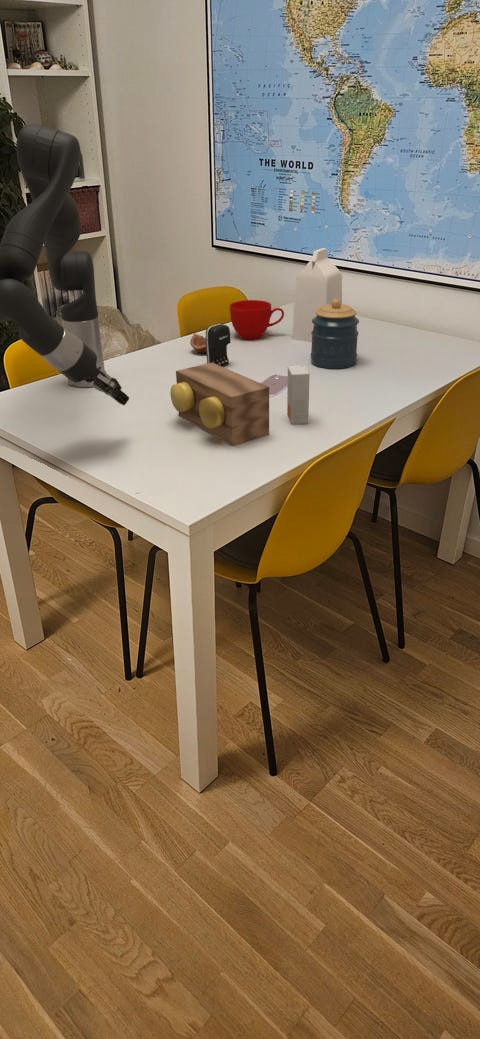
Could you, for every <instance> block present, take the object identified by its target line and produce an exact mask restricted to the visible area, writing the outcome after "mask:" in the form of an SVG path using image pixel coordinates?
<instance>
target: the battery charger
mask: <svg viewBox="0 0 480 1039" xmlns="http://www.w3.org/2000/svg"><path fill="white" fill-rule="evenodd" d="M205 338H206V352H207V353H206V364H207V363H215V364H217V365H219V366H222V367H226V366H228V365H229V363H230V361H229V357H228V345H229V344H231V330H230V327H229V326H228V325H226V324H223V323H216V324H213V325H211V326H208V327H207V328H206V330H205Z"/></svg>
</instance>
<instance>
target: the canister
mask: <svg viewBox="0 0 480 1039" xmlns="http://www.w3.org/2000/svg"><path fill="white" fill-rule="evenodd" d="M357 313H358V312H357V310H355V309H354V308H353V307H352V306H350V305H347V304H343V303H342V304H341V301H340V300H339V299H334V300H333V301H332V303H331V304H328V305H323V306H321V307H320V308H319V309H317V310H316V311H315V314H316V317H314V318H313V319H312V323H313V324H314V326H313V330H312V332H311V334H312V342H311V352H310V360H311V364H312V365H314V366H316V367H319V368H324V369H330V370H331V369H333V370H334V369H336V370H337V369H346V368H349V367H353V366H354V365H356V361H357V359H358V353H357V352H358V351H357V350H358V336H359V331H358V329H357V328H358V325H359V324H360V320H359V318H358V317H356V315H357Z"/></svg>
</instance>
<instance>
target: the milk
mask: <svg viewBox="0 0 480 1039" xmlns="http://www.w3.org/2000/svg"><path fill="white" fill-rule="evenodd" d="M327 250H328V249H327V247H324V248H323V247H322V248H319V249H316V250H313V254H312V258H311V260H310V261H308V262H307V264H306V265H305V267H304V268H303V269H302V270H301V271H300V272H299V273H298V275H297V276H296V278H295V283H294V284H295V287H294V304H293V315H292V316H293V318H292V332H291V333H292V336H291V339H292V340H297V341H303V342H308V343H312V334H311V332H312V330H313V326H314V324H313V323H312V319H313V318H314V317H316V314H315V311H316V310H317V309H319V308H320V307H321V306H323V305H328V304H331V303H332V301H333V300H334V299H339V300H340V301H341V304H343V276H342V273H341V271H340V270H339V269H338V267H337V266H336V265H335V264H334V262H332V260H330V258H329V256H328V255H329V254H328V251H327Z"/></svg>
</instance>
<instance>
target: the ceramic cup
mask: <svg viewBox="0 0 480 1039" xmlns="http://www.w3.org/2000/svg"><path fill="white" fill-rule="evenodd" d="M276 311H279V312H281V316H280V318H279V319H278V320H276V321H274V322H271V317H272V315H273V314H274V313H275V312H276ZM229 315H230V322H231V324H232V327H233V329H234V331H235V332H236V333H237V334H236V335H238V336H239V337H240V338H241V339H243V340H249V341H250V340H252V341H253V340H258V339H261V338H262V336H264V335H265V333H266V331H267V329H268V328H269V327H272V326H275V325H277V324H279V323H280V322H281V321H282V320H283V319H284V316H285V312H284V310H283V308H281V307H274V308H272V303H271V302H269V301H266V300H261V299H260V300H259V299H258V300H257V299H247V300H246V299H245V300H238V301H233V302H232V303H230V304H229ZM270 322H271V323H270Z"/></svg>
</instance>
